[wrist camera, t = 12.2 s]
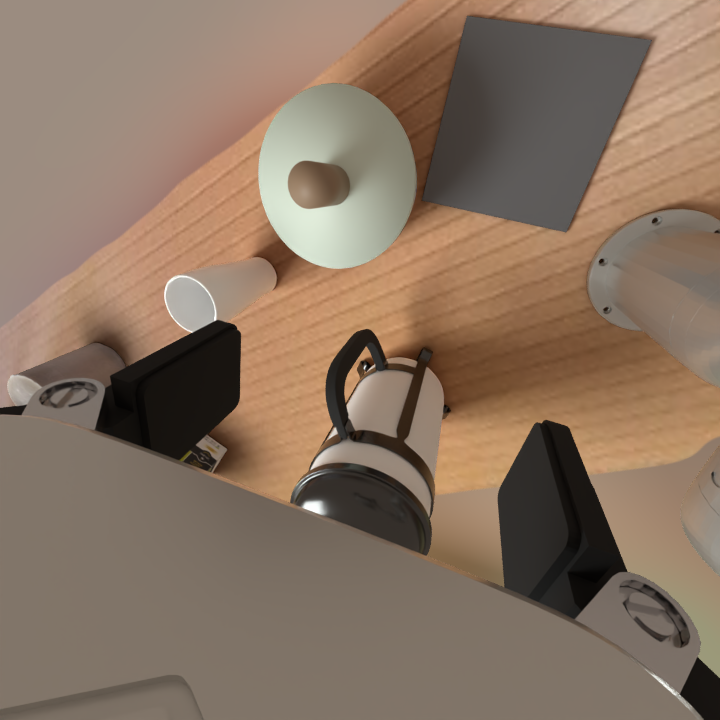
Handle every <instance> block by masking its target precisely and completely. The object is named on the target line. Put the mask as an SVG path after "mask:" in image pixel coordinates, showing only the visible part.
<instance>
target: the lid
mask: <svg viewBox="0 0 720 720" xmlns="http://www.w3.org/2000/svg"><path fill="white" fill-rule="evenodd" d="M259 187H260V194H261V198H262V203H263V206H264V209H265V212H266V214H267V216H268V219H269V221H270V223H271V225H272V226H273V228H274V230H275V231H276V233H277V234H278V236H279V237H280V238H281V240H282V241H283V242H284V243H285V244H286V245H287V246H288V247H289V248H290V249H291V250H292V251H294V252H295V253H296V254H297V255H299V256H300V257H302V258H303V259H305V260H307V261H309V262H311V263H313V264H316V265H319V266H322V267H327V268H337V269H342V268H351V267H355V266H359V265H362V264H364V263H367V262H369V261H370V260H372V259H374V258H376V257H377V256H379V255H380V254H381V253H382V252H384V251H385V250H386V249H387V248H388V247H389V246H390V245H391V244H392V243H393V242H394V241H395V240H396V239H397V237H398V236H399V235H400V233H401V232H402V230H403V228H404V227H405V225H406V223H407V221H408V218H409V216H410V214H411V210H412V207H413V203H414V198H415V192H416V165H415V159H414V154H413V150H412V147H411V144H410V141H409V139H408V137H407V134H406V132H405V130H404V128H403V127H402V125H401V123H400V122H399V120H398V119H397V118H396V116H395V115H394V114H393V113H392V112H391V110H390V109H389V108H388V107H387V106H385V105H384V104H383V103H382V102H381V101H380V100H379V99H378V98H376V97H375V96H373V95H371V94H370V93H368V92H367V91H364V90H362V89H360V88H358V87H355V86H351V85H347V84H338V83H330V84H321V85H318V86H314V87H311V88H309V89H306V90H304V91H302V92H300V93H299V94H297V95H296V96H294V97H293V98H292V99H291V100H289V101H288V102H287V103H286V104H285V105H284V106H283V107H282V108H281V110H280V111H279V112H278V113H277V114H276V116H275V118H274V119H273V121H272V122H271V124H270V126H269V128H268V130H267V133H266V135H265V138H264V141H263V144H262V148H261V153H260V158H259Z"/></svg>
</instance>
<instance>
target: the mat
mask: <svg viewBox="0 0 720 720" xmlns="http://www.w3.org/2000/svg"><path fill="white" fill-rule="evenodd" d="M651 41H652V40H647V39H639V38H631V37H624V36H616V35H609V34H601V33H593V32H586V31H578V30H571V29H563V28H555V27H548V26H540V25H533V24H525V23H517V22H510V21H502V20H495V19H487V18H479V17H472V16H467V18H466V22H465V26H464V30H463V35H462V39H461V43H460V47H459V51H458V55H457V59H456V63H455V67H454V71H453V75H452V79H451V84H450V88H449V92H448V96H447V100H446V104H445V108H444V112H443V116H442V120H441V124H440V129H439V133H438V137H437V141H436V145H435V149H434V153H433V157H432V161H431V165H430V169H429V173H428V178H427V182H426V186H425V190H424V194H423V198H422V201H427V202H431V203H436V204H440V205H445V206H449V207H454V208H458V209H463V210H467V211H472V212H476V213H481V214H486V215H490V216H495V217H499V218H504V219H508V220H513V221H517V222H522V223H526V224H531V225H536V226H540V227H545V228H549V229H554V230H558V231H563V232H567V229H568V227H569V225H570V223H571V221H572V218H573V216H574V214H575V212H576V209H577V207H578V205H579V203H580V200H581V198H582V196H583V194H584V191H585V189H586V187H587V185H588V182H589V180H590V178H591V176H592V173H593V171H594V169H595V167H596V164H597V162H598V160H599V158H600V155H601V153H602V151H603V149H604V146H605V144H606V142H607V140H608V137H609V135H610V133H611V131H612V129H613V126H614V124H615V122H616V120H617V117H618V115H619V113H620V111H621V108H622V106H623V104H624V102H625V99H626V97H627V95H628V93H629V90H630V88H631V86H632V84H633V81H634V79H635V77H636V75H637V72H638V70H639V68H640V66H641V63H642V61H643V59H644V57H645V54H646V52H647V50H648V48H649V45H650V43H651Z"/></svg>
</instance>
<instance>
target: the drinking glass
mask: <svg viewBox="0 0 720 720" xmlns="http://www.w3.org/2000/svg"><path fill="white" fill-rule="evenodd" d="M276 282H277V276H276V272H275V269H274V268H273V266H272V265H271V264H270V263H269V262H268V261H267V260H265V259H263V258H260V257H252V258H249V259H245V260H240V261H234V262H228V263H222V264H216V265H210V266H204V267H200V268H196V269H193V270H190V271H187V272H184V273H182V274H179V275H176V276H174V277H172V278H171V279H170V280H169V281H168V283H167V285H166V287H165V293H164V297H165V303H166V306H167V309H168V311H169V313H170V315H171V316H172V318H173V319H174V320H175V321H176V322H177V323H178V324H179V325H180V326H181V327H182V328H184V329H185V330H187V331H189V332H192V333H193V332H194V331H196V330H198V329H200V328H202V327H204V326H206V325H208V324H210V323H212V322H214V321H216V320H221V321H224V322H228V321H230V320H231V319H233V318H234V317H236V316H237V315H238V314H240V313H241V312H243V311H244V310H245V309H247V308H248V307H249V306H251V305H252V304H253V303H255V302H256V301H257V300H259V299H260V298H262V297H263V296H264V295H266V294H268V293H270V292H271V291H272V290H273V289H274V288H275V285H276Z"/></svg>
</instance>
